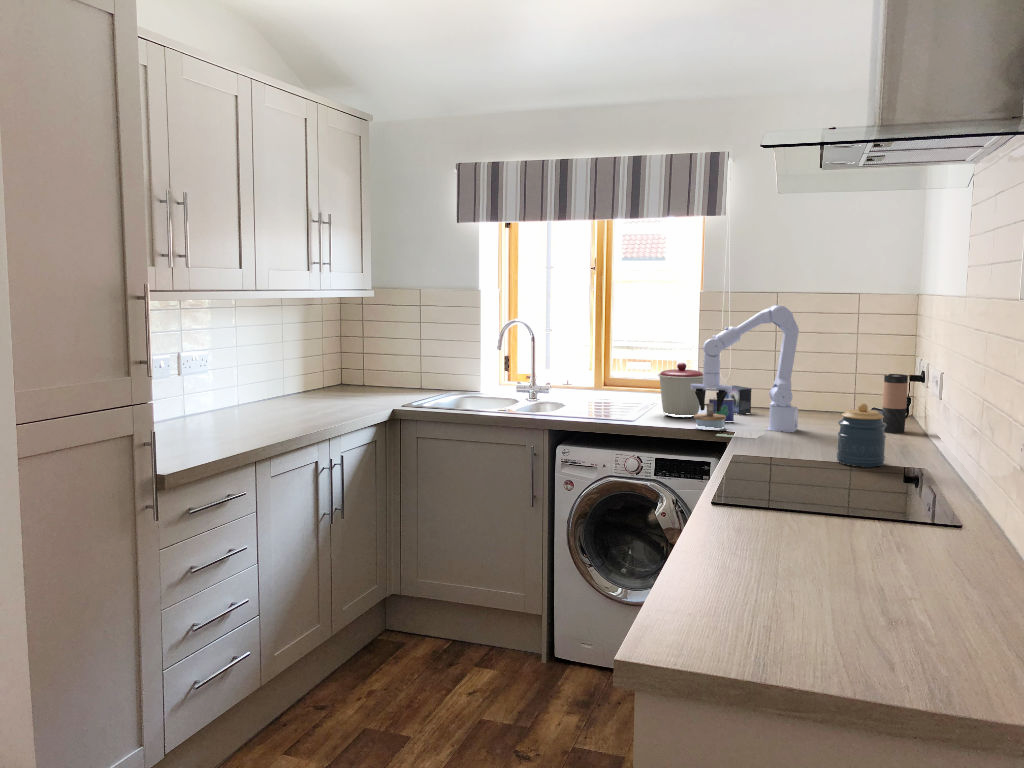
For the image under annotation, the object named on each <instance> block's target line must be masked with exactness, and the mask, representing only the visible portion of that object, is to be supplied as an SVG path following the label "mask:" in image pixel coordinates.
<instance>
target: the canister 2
mask: <svg viewBox="0 0 1024 768" xmlns="http://www.w3.org/2000/svg"><path fill="white" fill-rule="evenodd" d="M868 408H869V407H868V405H867V403H864V402H862V403H859V404H858V406H857V408H855V409H854V408H852V409H847V410H846V411H845V412H842V414H841V416H842V419H841V420H839V421H838V422H837V423H838V425H839V430H838V432H837V435H838V436H837V453H836V458H837V459H836V460H837V462H838V461H839V462H841V463H844V464H849V465H855V466H864V467H863V468H877V467H876V466H880V467H882V466H884V463H885V461H886V459H885V458H886V456H885V449H886V448H885V447H886V438H887V435H886V434H885V432H884V428H885V427H886V426H887V425H886V423H884V422H883V421H882V418H884V416H883V415H882V414H881V413H880V412H879V411H878V410H873V409H868ZM839 462H838V463H839ZM841 463H840V464H841ZM844 464H843V465H844ZM873 466H874V467H873Z"/></svg>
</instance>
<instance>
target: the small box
mask: <svg viewBox="0 0 1024 768" xmlns="http://www.w3.org/2000/svg"><path fill="white" fill-rule="evenodd" d="M731 386H732V392H727V394H726V396H725V398H724V399H734V413H737V414H746V413H751V414H752V387H745V386H741V385H734V384H733V385H731Z"/></svg>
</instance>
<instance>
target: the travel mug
mask: <svg viewBox="0 0 1024 768" xmlns="http://www.w3.org/2000/svg"><path fill="white" fill-rule="evenodd" d="M883 377H884V378H883V390H882V391H883V394H882V395H883V396H882V412H881V413H882V414H881V415H883V416H884V418H882V420H883V421H884V423H886V425H887V426H886V427H885V428H884V433H886V434H887V433H888V434H895V433H899V434H904V433H905V429H906V417H907V416H906V415H907V408H908V407H907V403H908V378H909V376H908V375H907V374H901V373H888V375H886V374H884V375H883Z"/></svg>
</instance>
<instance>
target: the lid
mask: <svg viewBox="0 0 1024 768" xmlns="http://www.w3.org/2000/svg"><path fill="white" fill-rule="evenodd" d="M693 418H694V419H695V420H696V419H699V420H707V421H719V420H725V419H726V416H724V415H720V414H714V404H713V403H709V402H708V403H706V413H698V414H696V415H694V417H693Z"/></svg>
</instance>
